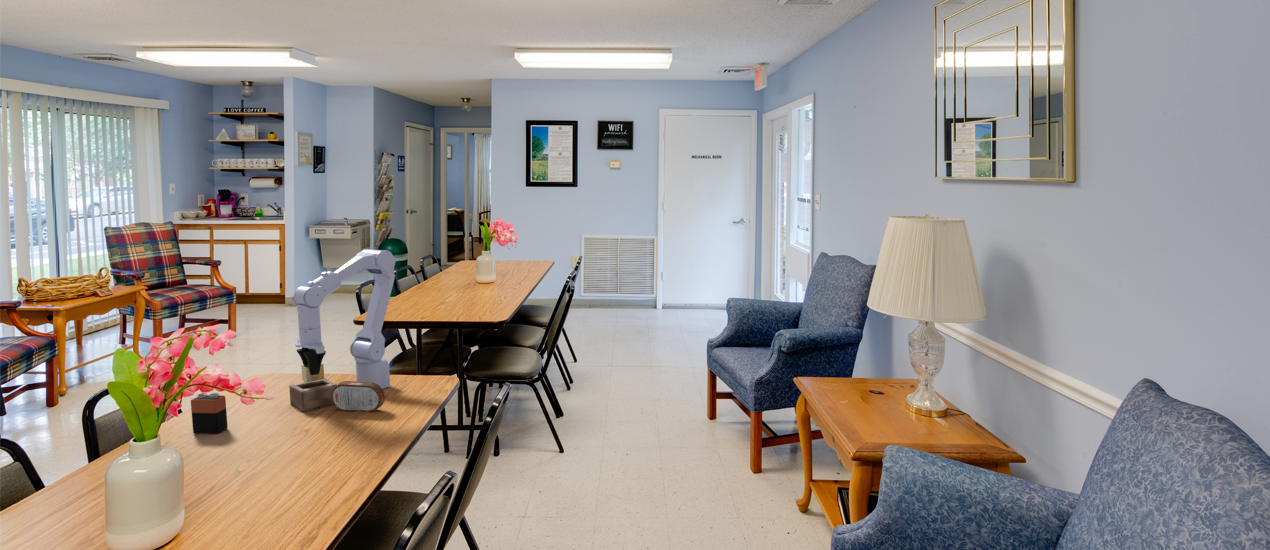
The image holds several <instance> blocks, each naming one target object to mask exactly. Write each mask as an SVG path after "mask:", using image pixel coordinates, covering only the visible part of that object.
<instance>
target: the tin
mask: <svg viewBox="0 0 1270 550" xmlns="http://www.w3.org/2000/svg"><path fill="white" fill-rule="evenodd" d="M331 398H332V402H333V404H334V405H333V406H335V407H336V408H337V409H339V410H340V411H344V412H357V411H373V412H375V411H377V410H378V409H380V408H381V407H382V406H383V405H384V403H385V400H386V396H385V391H384V388H383V389H382V388H381V387H380V386H379V385H378V384H376V383H373V382H357V380H356V381H354V380H353V381H352V380H343V381H340V382H339V383H338V384H337V386H336V387H335V388H334V389H333V390H332V394H331Z"/></svg>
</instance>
